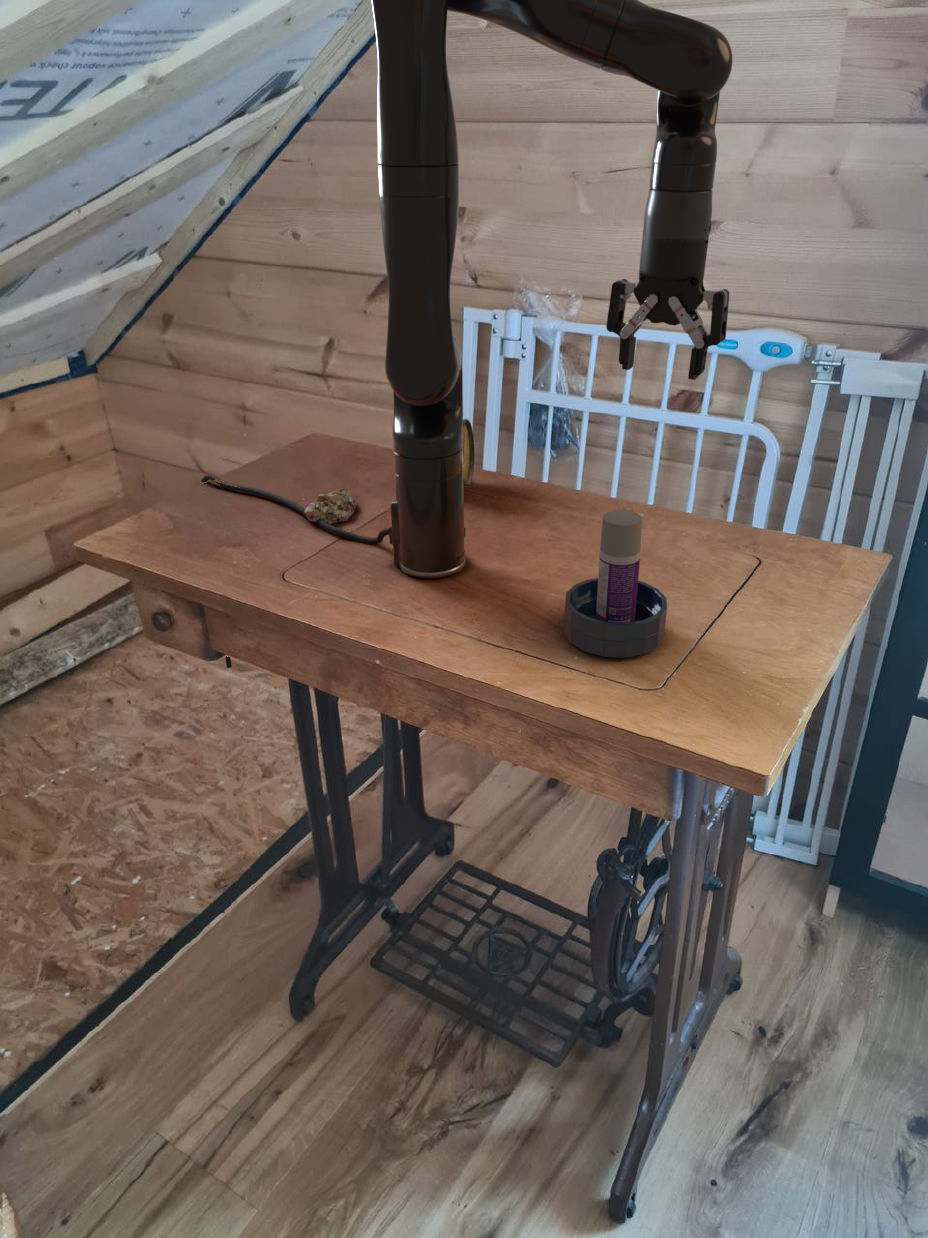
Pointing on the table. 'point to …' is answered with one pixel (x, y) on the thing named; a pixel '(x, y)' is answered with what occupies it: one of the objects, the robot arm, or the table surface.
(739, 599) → the table surface
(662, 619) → the bowl
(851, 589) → the table surface
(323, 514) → the mineral rock
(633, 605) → the container
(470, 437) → the alarm clock
